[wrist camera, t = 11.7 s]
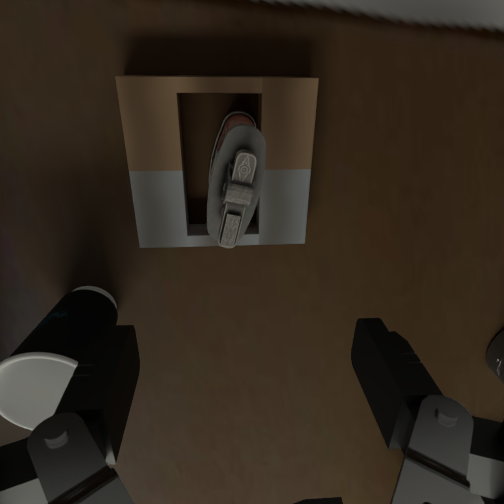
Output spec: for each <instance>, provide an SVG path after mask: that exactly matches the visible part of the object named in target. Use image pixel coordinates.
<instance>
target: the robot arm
mask: <svg viewBox="0 0 504 504" xmlns="http://www.w3.org/2000/svg"><path fill="white" fill-rule="evenodd" d="M351 360H352V365H353V368H354V371H355V373H356V375H357V378H358V380H359V382H360V385H361V387H362V389H363V392H364V394H365V396H366V398H367V401H368V403H369V405H370V408H371V410H372V412H373V415H374V417H375V419H376V422H377V424H378V426H379V429H380V431H381V433H382V435H383V438H384V440H385V442H386V445H387V447H388V449H399V448H401V450H402V452H403V454H404V459H403V462H402V465H401V469H400V472H399V475H398V479H397V482H396V485H395V489H394V492H393V495H392V499H391V502H390V504H469V495H470V493H472V494H476V495H480V496H481V498H482V500H483V502H484V504H504V420H503V422H502V423H501V422H496V421H492V420H487V419H483V418H478V417H474V416H471V414H470V413H469V411H468V410H467V409H466V408H465V407H464V406H463V405H462V404H460V403H459V402H457V401H456V400H454V399H452V398H449V397H446V396H444V395H443V394H442V392H441V391H440V389H439V388H438V386H437V385H436V383H435V382H434V380H433V379H432V377H431V376H430V374H429V373H428V371H427V370H426V368H425V367H424V365H423V364H422V363H421V362H420V359H419V358H418V356H417V355H416V354H415V353H414V350H413V349H412V347H411V346H410V344H409V343H408V341H407V340H405V339H404V338H403V337H402V336H400V335H399V334H398V333H397V332H395V331H393V332H389V331H388V329H387V328H386V326H385V325H384V323H383V321H382V320H381V319H380V318H359V319H358V320H357V323H356V328H355V333H354V339H353V344H352V350H351ZM486 361H487V364H488V366H489V368H490V369H491V370H492V371H493V372H494V374H495V375H496V376H497V377H498V378H499V379H500V380H501V382H502V383H503V384H504V330H502V331H501V332H500V333H499V334H498V335H497V336H496V337H495V339H494V340H493V341H492V342H491V344H490V346H489V348H488V351H487V355H486ZM139 370H140V358H139V352H138V345H137V339H136V333H135V328H134V326H133V325H117V326H110V328H109V330H108V333H107V335H106V337H105V340H104V341H94V342H93V343H92V344H91V345H90V346H89V347H88V348H87V349H86V350H85V351H84V352H83V353H82V356H81V358H80V360H79V362H78V366H76V368H75V370H74V372H73V377H71V379H70V381H69V383H68V385H67V387H66V389H65V391H64V394H63V396H62V398H61V400H60V402H59V404H58V406H57V408H56V410H55V413H54V414H53V416H51V417H49V418H47V419H45V420H44V421H42V422H41V423H40V424H38V425H37V426H36V427H35V428H34V430H33V431H32V432H31V434H30V436H29V437H27V438H25V439H22V440H19V441H16V442H13V443H10V444H7V445H4V446H1V447H0V504H135V503H134V502H133V500H132V498H131V496H130V495H129V493H128V491H127V489H126V488H125V486H124V484H123V482H122V480H121V479H120V477H119V475H118V474H117V472H116V471H115V469H114V468H111V469H110V467H109V466H108V464H116V461H117V457H118V453H119V449H120V446H121V442H122V438H123V434H124V430H125V426H126V423H127V419H128V415H129V411H130V407H131V403H132V400H133V396H134V392H135V388H136V384H137V381H138V377H139ZM294 504H343V502H342V499H341V497H334V498H319V499H305V500H302V501H299V502H297V503H294Z"/></svg>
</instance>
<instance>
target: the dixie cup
mask: <svg viewBox="0 0 504 504" xmlns="http://www.w3.org/2000/svg"><path fill="white" fill-rule="evenodd" d="M117 318H118V313H117V305H116V302H115V300H114V298H113V297H112V296H111V295H110V294H109V293H108V292H107V291H105V290H103V289H101V288H98V287H94V286H82V287H79V288H76V289H74V290H73V291H72V292H70V293H68V294H66V295H65V296H64V297H63V298H62V299H61V300H60V301H59V302H58V303H57V305H56V306H55V307H54V308H53V309H52V310H51V311H50V312H49V313H48V315H47V316H46V317H45V318H44V319H43V320H42V321H41V322H40V323H39V324H38V326H37V327H36V328H35V329H34V330H33V331H32V332H31V333H30V334H29V336H28V337H27V338H26V339H25V340H24V341H23V342H22V343H21V344H20V346H19V347H18V348H17V349H16V350H15V351H14V352H13V353H12V354H11V356H10V357H9V358H7V359H5V360H4V361H2V362H1V363H0V415H2V416H3V417H4V418H6V419H7V420H9V421H11V422H12V423H14V424H16V425H18V426H20V427H23V428H26V429H29V430H34V428H35V427H36V426H37V425H38V424H40V423H41V422H42V421H44V420H45V419H47V418H49V417H51V416H53V414H54V413H55V410H56V408H57V406H58V404H59V402H60V400H61V398H62V396H63V394H64V391H65V389H66V387H67V385H68V383H69V381H70V379H71V377H73V372H74V370H75V368H76V366H78V362H79V360H80V358H81V356H82V353H83V352H84V351H85V350H86V349H87V348H88V347H89V346H90V345H91V344H92V343H93V342H94V341H104V340H105V337H106V335H107V333H108V330H109V328H110V326H116V323H117Z"/></svg>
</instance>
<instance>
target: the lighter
mask: <svg viewBox="0 0 504 504" xmlns="http://www.w3.org/2000/svg"><path fill="white" fill-rule="evenodd" d="M265 158H266V140H265V138H264V136H263V134H262V133H261V131H260V130H259V129H257V128H256V123H255V121H254V120H253V118H252V116H250V115H249V114H248V113H246V112H244V111H239V110H236V111H232V112H230V113H228V114H227V115H226V116H225V118H224V120H223V122H222V125H221V127H220V130H219V132H218V135H217V137H216V141H215V144H214V148H213V152H212V156H211V163H210V171H209V187H208V200H207V229H208V233H209V234H210V236H211V237H212V238H213V239H215V240H216V241H218V243H219V245H220V246H222V247H225V248H233V247H234V246H235V245H236V243H237V240H239V239H241V237H242V236H243V235H244V233H245V231H246V229H247V227H248V225H249V222H250V220H251V218H252V216H253V214H254V211H255V208H256V205H257V202H258V199H259V196H260V193H261V187H262V182H263V177H264V171H265Z"/></svg>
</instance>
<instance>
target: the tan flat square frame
mask: <svg viewBox="0 0 504 504" xmlns="http://www.w3.org/2000/svg"><path fill="white" fill-rule="evenodd" d="M115 77H116V84H117V91H118V98H119V105H120V112H121V119H122V126H123V133H124V140H125V147H126V154H127V161H128V168H129V175H130V182H131V189H132V196H133V203H134V210H135V217H136V224H137V231H138V238H139V245H140V248H157V247H194V246H220V245H219V243H218V241H216V240H215V239H213V238H212V237H211V236H210V234H209V233H208V229H207V224H189V213H188V199H187V186H186V172H185V158H184V144H183V130H182V116H181V102H180V93H258V129H259V130H260V131H261V133H262V134H263V136H264V138H265V140H266V158H265V171H264V177H263V182H262V187H261V193H260V196H259V199H258V202H257V205H256V223H249V225H248V227H247V229H246V231H245V233H244V235H243V236H242V237H241V239H239V240H237V243H236V245H267V244H304V243H305V233H306V221H307V209H308V198H309V186H310V174H311V163H312V151H313V139H314V128H315V116H316V104H317V92H318V81H319V78H315V77H294V76H188V75H120V76H115Z"/></svg>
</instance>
